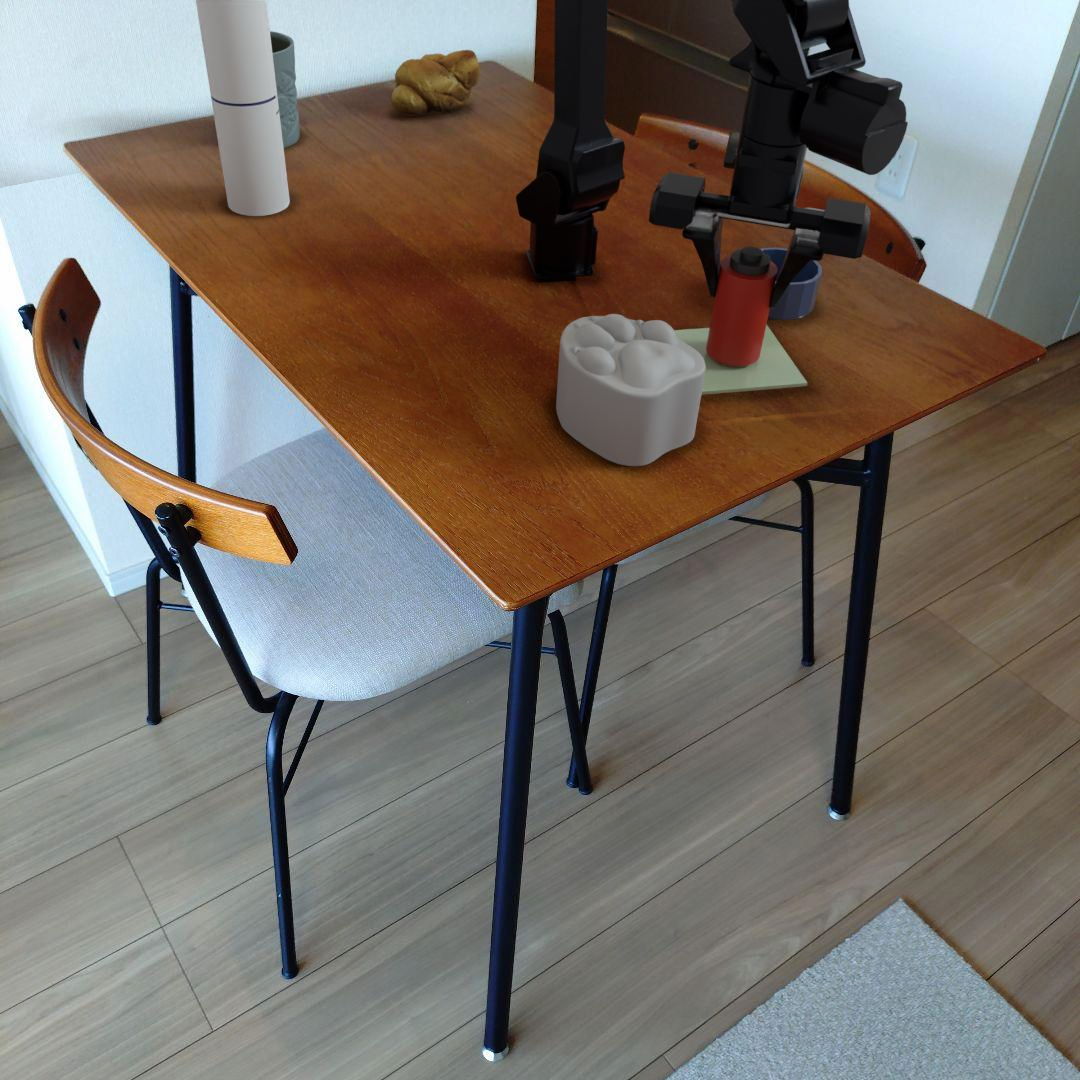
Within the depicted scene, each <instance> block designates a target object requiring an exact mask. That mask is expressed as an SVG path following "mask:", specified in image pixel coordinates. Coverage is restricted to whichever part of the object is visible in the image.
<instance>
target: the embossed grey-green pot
mask: <svg viewBox="0 0 1080 1080" xmlns="http://www.w3.org/2000/svg"><path fill="white" fill-rule="evenodd" d="M270 36H271V45H272V54H273V62H274V71H275V79H276V88H277V97H278V105H279V114H280V122H281V131H282V139H283V148H284V149H285V148H289V147H291V146H293V145H294V144H296V143H298V141H299V139H300V135H301V133H300V117H299V110H298V91H297V86H296V81H297V75H296V57H295V56H296V55H295V54H296V53H295V42H294V39H293V38H292V37H291V36H289V35H286V34H284V33H282V32H281V33H280V32H277V31H272V30H270Z"/></svg>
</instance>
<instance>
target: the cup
mask: <svg viewBox="0 0 1080 1080" xmlns="http://www.w3.org/2000/svg"><path fill="white" fill-rule="evenodd" d="M759 249H760V250H762V252H764V253H766V254H767V255H768V256H769V257H770V259H771V261H772V262H773V263H774V264H775V265H776V267H777V269H778V272H777V277H776V281H777V278H778V275H779V272H780V270H781V267H782V264H783V261H784V259H785V256H786V253H787V250H788V248H783V247H761V248H759ZM822 276H823V267H822V265H821V264H820V263H819V261H813V260H811V261H809V262H808V263H807V264H806V266H805V267H804V268H803V269H802V270H801V271H800V272H799V273H798V274H797V275H796V276H795V278H794V279H793V280H792V282H791V283H790V284H789V286H788V287H787V289H786V290H785V292H784V293H783V295H782V297H781V298H780V300H779V301H778V303H777V304H776V306H775V307H774V308H770V310H769V315H768V319H772V320H779V321H780V320H781V321H782V320H783V321H787V320H788V321H789V320H797V319H800V318H804V317H806V316H808V315H809V314H810V313H812V311H813V310H814V309H815V306H816V302H817V298H818V297H817V296H818V292H819V288H820V284H821V280H822ZM776 281H775V284H776Z"/></svg>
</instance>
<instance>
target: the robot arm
mask: <svg viewBox="0 0 1080 1080" xmlns="http://www.w3.org/2000/svg"><path fill="white" fill-rule="evenodd" d="M730 2H731V7H732V10H733V14H734V17H736V19H737V20H738V22H739V24H740V25H741V26H742V28H743V29H744V31H745V33H746V34H747V36H748V37H749V39H750V41H749V43H748V44H747V45H746V46H745V47H744V48H743V49H741V50H740V51H739V52H737V53H735V54H734V55H732V56H730V57H729V60H728V62H729V63H728V64H729V65H730V66H731V67H732V68H735V69H739V70H741V71H743V72H746V73H748V74H749V80H748V84H747V90H746V95H745V96H746V97H745V103H744V109H743V114H742V120H741V125H740V131H739V132H738V131H732V130H731V131H730V132H729V134H728V135H729V136H728V140H727V144H726V149H725V154H724V159H723V165H722V166H723V168H725V169H731V170H733V172H732V178H731V179H732V180H731V185H730V191H729V195H725V194H719V193H713V192H708V191H705V189H706V177H703V176H696V175H689V174H683V173H678V172H671V171H669V172H667V173H666V174H665V175H663V176H662V177H661V178H660V180H659V182H658V184H657V185H656V188H655V189H654V192H653V194H652V197H651V200H650V206H649V215H648V222H649V223H650V224H652V225H653V226H657V227H664V228H670V229H676V230H682V234H681V236H682V238H683V239H686V240H690V241H691V242H692V244H693V245H694V248H695V251H696V253H697V255H698V258H699V259H700V262H701V266H702V269H703V273H704V276H705V280H706V284H707V288H708V292H709V297H710V298H714V299H715V294H716V288H717V282H718V276H719V270H720V264H721V251H722V236H723V235H722V233H723V225H724V220H731V221H736V222H737V221H738V222H743V223H749V224H754V225H761V226H765V227H766V226H767V227H773V228H778V229H779V228H780V229H784V230H791V231H793V232H792V236H791V239H790V242H789V245H788V247H787V249H788V250H787V253H786V256H785V259H784V261H783V264H782V267H781V270H780V272H779V275H778V278H777V281H776V284H775V286H774V290H773V294H772V298H771V303H770V308H774V307H775V306H776V304H777V303H778V301H779V300H780V298H781V297H782V295H783V293H784V292H785V290H786V289H787V287H788V286H789V284H790V283H791V282H792V280H793V279H794V278H795V276H796V275H797V274H798V273H799V272H800V271H801V270H802V269H803V268H804V267H805V266H806V264H807V263H808V262H809V261H811V260H813V261H817V262H820V261H822V260H823V258H824V255H829V256H834V257H835V256H836V257H841V258H848V259H853V260H856V259H860V258H862V257H863V253H864V250H865V246H866V242H867V238H868V234H869V229H870V228H869V227H870V223H871V222H870V221H871V216H872V215H871V213H872V211H871V209H870V208H869V206H868V204H867V203H866V202H865V203H864V202H858V201H852V200H847V199H839V198H833V197H827V199H826V202H825V207H824V209H820V208H814V207H799V206H796V202H797V200H798V198H799V194H800V190H801V185H802V180H803V175H804V171H805V168H804V167H805V166H804V164H805V160H806V155H807V150H808V151H809V152H811V153H813V154H816V155H819V156H821V157H823V158H827V159H829V160H831V161H834V162H836V163H839V164H841V165H844V166H846V167H848V168H851V169H854V170H856V171H859V172H861V173H863V174H866V175H868V176H875V175H877V174H879V173H880V172H882V171H883V170H884V169H885V168H886V167H888V166H889V164H890V163H891V162H892V160H893V159H894V158H895V156H896V154H897V152H898V151H899V149H900V147H901V145H902V143H903V142H904V138H905V135H906V132H907V129H908V125H909V124H908V121H907V106H906V105H905V102H904V101H903V100H902V99H900V98H901V95H902V94H901V93H902V91H903V83H902V82H901V81H900V80H896V79H893V78H889V77H879V76H875V75H872V74H870V73H867V72H863V71H861V70H858V69H861V68H863V67H865V65H866V61H867V60H866V57H865V54H864V50H863V46H862V44H861V40H860V38H859V34H858V31H857V28H856V25H855V21H854V17H853V15H852V10H851V8H850V1H849V0H730ZM608 6H609V0H554V56H553V57H554V58H553V59H554V69H553V71H554V72H553V74H554V75H553V76H554V79H553V80H554V81H553V82H554V83H553V84H554V87H553V88H554V90H553V91H554V92H553V93H554V94H553V95H554V96H553V98H554V99H553V101H554V102H553V120H552V123H551V125H550V127H549V128H548V131H547V132H546V135H545V137H544V139H543V142H542V144H541V145H540V147H539V150H538V160H537V167H536V176H535V178H534V179H533V180H532V181H531V182H530V183H528V185H526V186H525V187H524V188H522V190H520V191H519V192H518V193H517V194H516V195H515V201H516V206H517V207H516V208H517V213H518V216H519V217H520V218H523V219H524V220H526V221H529V222H530V228H529V229H530V230H529V231H530V232H529V249H527V250H525V258H526V260H527V262H528V264H529V268H530V269H531V272H532V274H533V277H534V279H535V280H536V281H537V282H545V281H563V280H576V279H577V278H578V277H579V278H580V277H592V276H595V269H594V268H593V267H592V266H594V265H596V261H597V248H598V237H599V230H598V228H597V226H596V224H595V216H594V214H595V213H598V212H604V211H606V209H607V207H608V206H609V203H610V200H611V198H612V197H614V195H615V194H617V193H618V191H619V188H620V184H621V181H622V180H625V178H626V176H625V171H624V155H625V151H626V144H625V140H624V139H622V138H616V137H614V135H613V133H612V131H611V130H610V127H609V126H608V124H607V122H606V119H605V105H606V103H605V102H606V71H607V46H608V45H607V39H608V13H609V12H608V11H609V10H608V9H609V7H608ZM823 44H826V46H827V48H828V49H825V50H822V51H819V52H816V53H812V54H808V55H805V53H804V50H806V49H809V48H812V47H816V46H821V45H823Z"/></svg>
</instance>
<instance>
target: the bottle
mask: <svg viewBox="0 0 1080 1080" xmlns="http://www.w3.org/2000/svg"><path fill="white" fill-rule="evenodd" d="M760 249H761V248H759V247H755V246H744V247H742V248H740V249H736V250H734V251H732V253H731V254H729V255H727V256H725V257H724V258H722V259H721V260H720V270H719V276H718V282H717V288H716V294H715V298H714V299H713V305H712V306H713V307H712V311H711V317H710V323H709V327H708V328H709V334H708V340H707V346H706V351H707V353H708V355H709V356H710V357H711V358H712V359H714V360H716V361H718V362H720V363H723V364H726V365H731V366H746V365H750V364H752V363H754V362H756V361H757V360H758V359H759V357H760V353H761V348H762V343H763V338H764V334H765V329H766V324H767V323H768V320H769V318H768V315H769V310H770V303H771V298H772V294H773V290H774V286H775V281H776V277H777V272H778V269H777V267H776V265H775V264H774V263H773V262H772V261H771V259H770V257H769V256H768V255H767V254H766V253H764V252H762V250H760ZM767 325H768V324H767Z"/></svg>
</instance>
